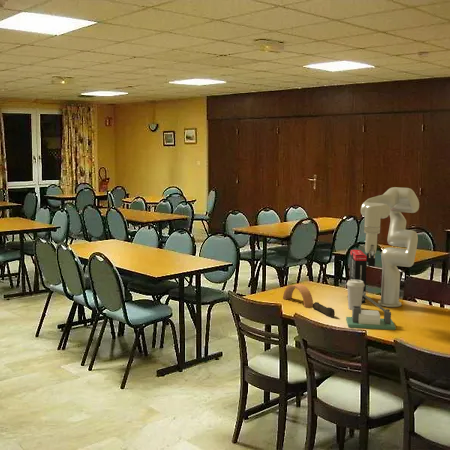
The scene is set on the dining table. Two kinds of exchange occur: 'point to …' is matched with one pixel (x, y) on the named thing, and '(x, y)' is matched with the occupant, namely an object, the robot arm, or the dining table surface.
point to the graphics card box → (358, 267)
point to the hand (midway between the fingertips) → (370, 263)
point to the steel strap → (373, 302)
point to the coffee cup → (355, 293)
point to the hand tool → (324, 309)
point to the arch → (304, 292)
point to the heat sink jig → (369, 319)
